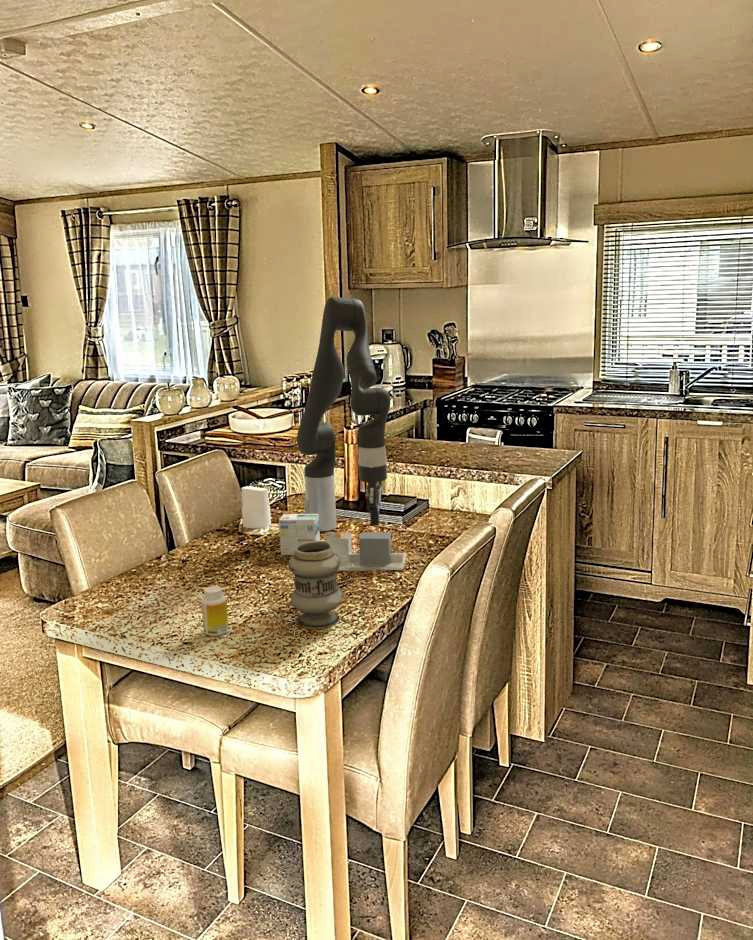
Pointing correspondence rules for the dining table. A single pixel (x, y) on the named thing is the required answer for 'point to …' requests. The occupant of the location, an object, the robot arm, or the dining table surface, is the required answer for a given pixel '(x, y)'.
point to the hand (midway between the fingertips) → (374, 524)
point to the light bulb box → (297, 531)
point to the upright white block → (255, 507)
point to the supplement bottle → (214, 611)
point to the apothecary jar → (315, 584)
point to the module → (375, 547)
